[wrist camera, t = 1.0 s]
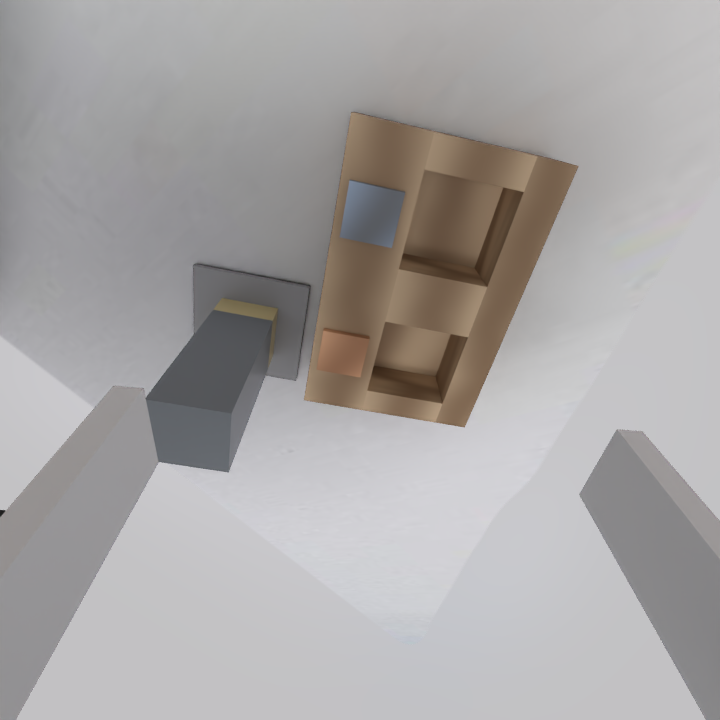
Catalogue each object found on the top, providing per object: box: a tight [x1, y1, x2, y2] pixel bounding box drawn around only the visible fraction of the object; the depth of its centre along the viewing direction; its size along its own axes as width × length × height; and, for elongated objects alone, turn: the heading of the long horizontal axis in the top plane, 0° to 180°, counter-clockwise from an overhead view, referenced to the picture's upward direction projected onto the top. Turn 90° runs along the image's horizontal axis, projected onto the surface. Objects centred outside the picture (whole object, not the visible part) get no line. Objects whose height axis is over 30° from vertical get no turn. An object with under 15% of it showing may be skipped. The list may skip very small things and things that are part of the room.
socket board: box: [304, 112, 578, 427], centre depth 27 cm, size 12×18×4 cm, turn 169°
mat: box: [193, 264, 310, 381], centre depth 31 cm, size 8×8×1 cm
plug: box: [146, 298, 278, 472], centre depth 26 cm, size 4×4×12 cm
